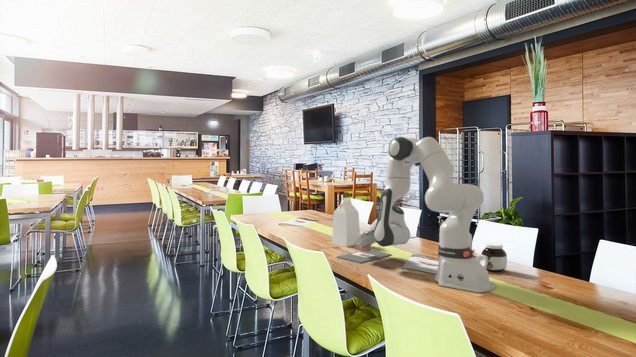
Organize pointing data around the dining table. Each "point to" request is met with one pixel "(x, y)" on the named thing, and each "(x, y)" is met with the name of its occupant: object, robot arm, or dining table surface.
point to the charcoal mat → (364, 256)
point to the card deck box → (365, 248)
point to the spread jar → (493, 257)
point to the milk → (345, 224)
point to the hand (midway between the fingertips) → (363, 246)
